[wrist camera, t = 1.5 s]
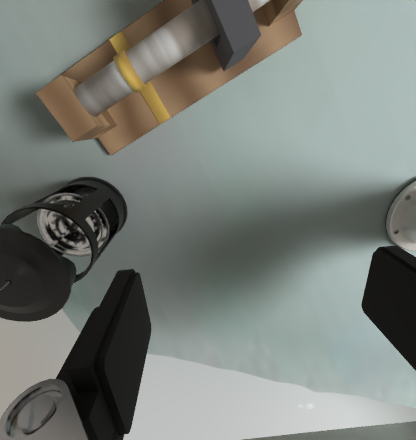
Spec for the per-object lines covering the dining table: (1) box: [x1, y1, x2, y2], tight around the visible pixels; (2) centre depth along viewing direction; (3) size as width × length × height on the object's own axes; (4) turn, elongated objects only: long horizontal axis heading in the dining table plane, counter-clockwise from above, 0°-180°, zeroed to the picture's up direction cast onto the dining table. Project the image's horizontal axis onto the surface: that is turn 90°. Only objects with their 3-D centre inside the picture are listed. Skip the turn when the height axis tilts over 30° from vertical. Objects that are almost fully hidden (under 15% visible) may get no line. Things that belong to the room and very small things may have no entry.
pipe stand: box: [36, 0, 303, 155], centre depth 24 cm, size 27×10×8 cm, turn 119°
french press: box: [0, 177, 127, 321], centre depth 24 cm, size 12×9×23 cm
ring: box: [191, 0, 261, 71], centre depth 22 cm, size 2×8×8 cm, turn 29°
